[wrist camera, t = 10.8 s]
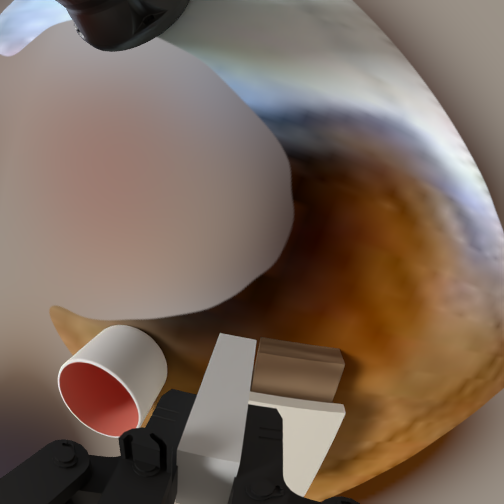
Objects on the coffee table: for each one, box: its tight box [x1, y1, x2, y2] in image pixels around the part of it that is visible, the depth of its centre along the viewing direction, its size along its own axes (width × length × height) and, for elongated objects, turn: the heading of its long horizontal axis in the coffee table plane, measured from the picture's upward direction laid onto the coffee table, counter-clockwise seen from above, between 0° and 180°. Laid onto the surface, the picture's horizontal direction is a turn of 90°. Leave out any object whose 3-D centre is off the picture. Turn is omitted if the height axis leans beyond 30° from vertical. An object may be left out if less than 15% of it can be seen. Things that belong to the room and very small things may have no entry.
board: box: [250, 337, 345, 403], centre depth 34 cm, size 15×9×4 cm, turn 170°
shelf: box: [248, 391, 346, 497], centre depth 32 cm, size 15×14×8 cm
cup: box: [58, 325, 167, 438], centre depth 31 cm, size 10×10×10 cm
